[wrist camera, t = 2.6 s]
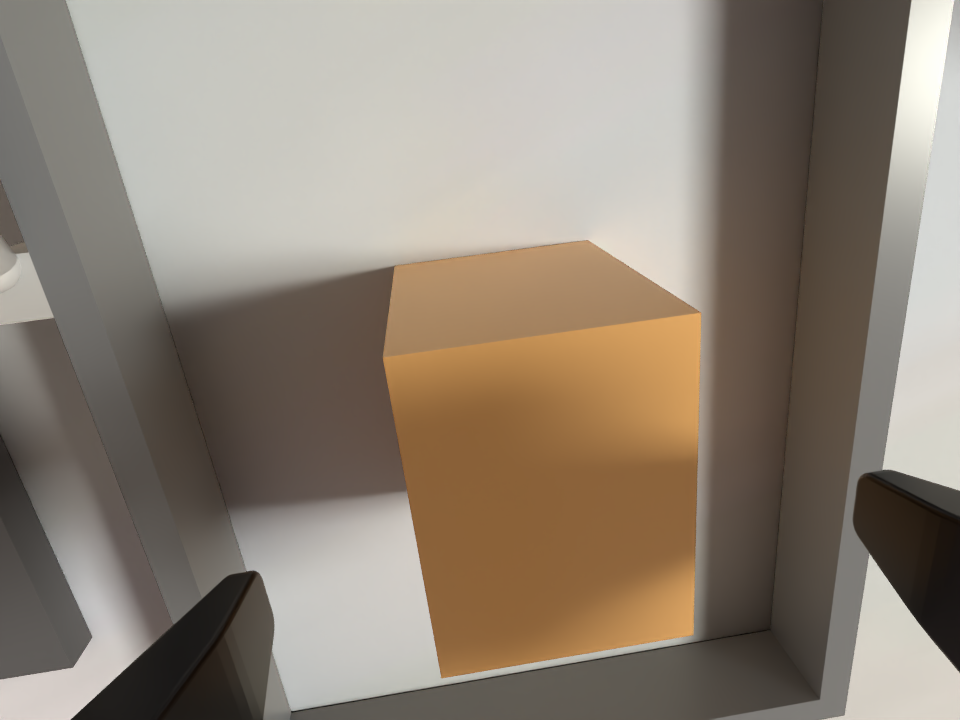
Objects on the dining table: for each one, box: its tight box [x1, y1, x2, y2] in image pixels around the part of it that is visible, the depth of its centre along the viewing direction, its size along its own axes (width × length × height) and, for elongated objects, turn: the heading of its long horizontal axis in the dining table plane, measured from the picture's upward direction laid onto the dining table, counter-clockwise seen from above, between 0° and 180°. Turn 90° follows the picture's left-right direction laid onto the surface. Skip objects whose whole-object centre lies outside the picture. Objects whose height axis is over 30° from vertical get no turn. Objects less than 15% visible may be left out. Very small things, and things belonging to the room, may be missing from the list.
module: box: [383, 240, 701, 678], centre depth 12 cm, size 6×4×6 cm
